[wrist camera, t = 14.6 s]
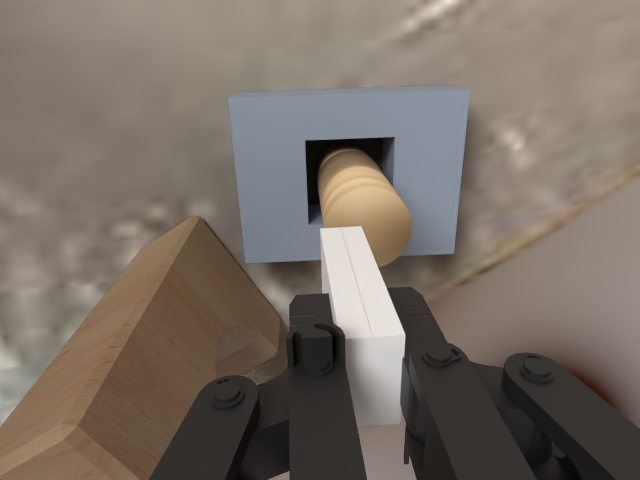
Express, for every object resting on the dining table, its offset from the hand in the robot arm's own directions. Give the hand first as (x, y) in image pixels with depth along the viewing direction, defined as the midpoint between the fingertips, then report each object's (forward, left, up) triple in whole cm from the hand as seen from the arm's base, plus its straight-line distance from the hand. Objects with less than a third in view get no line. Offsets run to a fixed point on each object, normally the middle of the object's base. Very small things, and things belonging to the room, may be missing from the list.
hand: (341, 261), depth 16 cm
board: (0, +2, -16) cm, 16 cm away
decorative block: (+9, -9, -16) cm, 21 cm away
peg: (0, +2, -16) cm, 16 cm away
